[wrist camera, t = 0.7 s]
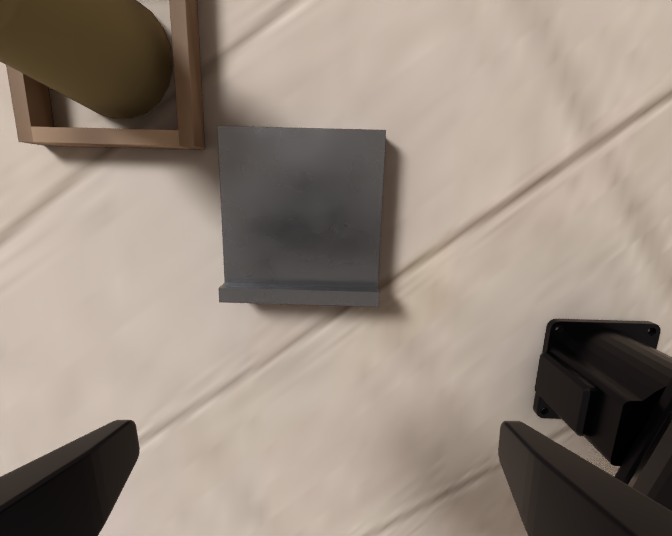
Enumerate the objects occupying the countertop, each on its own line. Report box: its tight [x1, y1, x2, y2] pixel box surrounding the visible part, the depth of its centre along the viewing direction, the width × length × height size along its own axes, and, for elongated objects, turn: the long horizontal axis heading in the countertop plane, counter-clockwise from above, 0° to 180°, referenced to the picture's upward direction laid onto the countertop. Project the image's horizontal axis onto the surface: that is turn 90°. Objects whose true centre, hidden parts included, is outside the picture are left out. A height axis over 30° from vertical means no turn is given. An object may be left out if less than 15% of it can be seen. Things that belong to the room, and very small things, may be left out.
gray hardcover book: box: [217, 126, 386, 307], centre depth 19 cm, size 8×9×2 cm
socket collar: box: [6, 0, 205, 149], centre depth 18 cm, size 9×9×2 cm
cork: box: [0, 0, 172, 118], centre depth 13 cm, size 6×6×11 cm
